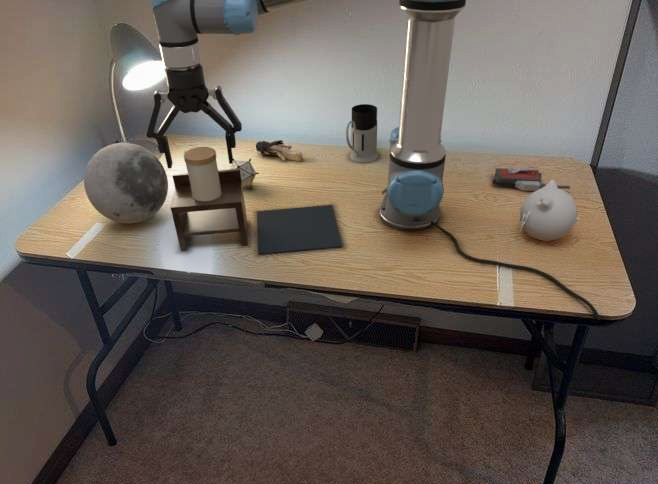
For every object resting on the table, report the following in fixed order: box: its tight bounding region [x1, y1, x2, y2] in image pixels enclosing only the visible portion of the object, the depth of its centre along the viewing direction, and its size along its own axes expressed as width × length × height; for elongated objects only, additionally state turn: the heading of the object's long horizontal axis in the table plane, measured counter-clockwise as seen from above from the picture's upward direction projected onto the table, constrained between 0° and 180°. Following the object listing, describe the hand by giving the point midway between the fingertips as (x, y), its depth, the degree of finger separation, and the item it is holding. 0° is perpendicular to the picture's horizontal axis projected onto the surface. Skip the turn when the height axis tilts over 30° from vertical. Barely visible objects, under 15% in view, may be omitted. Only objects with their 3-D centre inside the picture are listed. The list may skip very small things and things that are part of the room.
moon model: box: [83, 142, 169, 224], centre depth 136 cm, size 20×20×20 cm
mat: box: [256, 204, 343, 256], centre depth 135 cm, size 20×20×1 cm
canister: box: [183, 146, 222, 201], centre depth 123 cm, size 7×7×10 cm
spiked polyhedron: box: [229, 158, 260, 190], centre depth 152 cm, size 9×8×10 cm
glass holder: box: [345, 103, 379, 164], centre depth 161 cm, size 9×14×15 cm, turn 146°
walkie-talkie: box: [491, 166, 571, 192], centre depth 147 cm, size 9×4×20 cm
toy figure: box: [255, 139, 303, 162], centre depth 167 cm, size 7×6×15 cm
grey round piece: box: [519, 179, 581, 242], centre depth 124 cm, size 15×13×12 cm
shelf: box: [170, 168, 249, 253], centre depth 129 cm, size 16×11×15 cm
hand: (200, 163), depth 121 cm, fingers open, 13 cm apart
